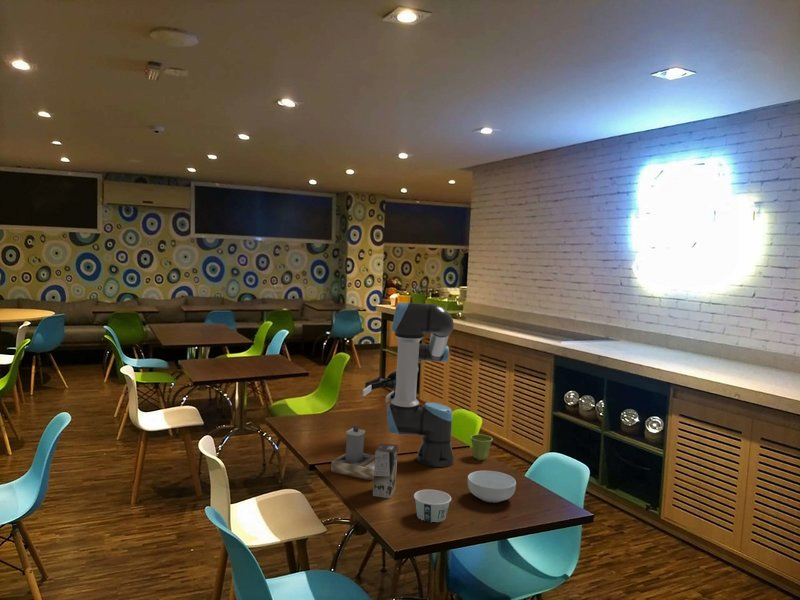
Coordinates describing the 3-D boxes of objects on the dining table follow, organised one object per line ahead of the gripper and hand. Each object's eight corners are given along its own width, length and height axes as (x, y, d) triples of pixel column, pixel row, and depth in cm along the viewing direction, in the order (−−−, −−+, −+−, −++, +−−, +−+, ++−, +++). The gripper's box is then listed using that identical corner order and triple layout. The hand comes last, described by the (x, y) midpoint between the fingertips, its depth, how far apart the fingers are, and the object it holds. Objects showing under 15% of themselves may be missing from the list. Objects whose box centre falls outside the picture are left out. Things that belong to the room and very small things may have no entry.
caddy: (390, 468, 232) (391, 458, 232) (374, 480, 218) (374, 470, 218) (349, 460, 239) (349, 450, 239) (331, 471, 225) (331, 461, 225)
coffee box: (390, 498, 202) (393, 452, 201) (372, 496, 204) (374, 450, 203) (396, 489, 211) (398, 444, 210) (378, 487, 213) (381, 442, 212)
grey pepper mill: (363, 465, 231) (365, 425, 231) (356, 469, 226) (359, 428, 226) (350, 463, 233) (352, 423, 233) (344, 467, 228) (346, 426, 228)
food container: (420, 506, 198) (421, 486, 198) (454, 513, 193) (456, 493, 193) (406, 519, 187) (408, 499, 187) (443, 527, 182) (444, 506, 182)
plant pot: (492, 462, 248) (494, 441, 247) (470, 460, 248) (471, 440, 248) (489, 454, 257) (491, 435, 257) (468, 453, 257) (469, 433, 257)
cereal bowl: (458, 491, 213) (459, 472, 213) (498, 487, 219) (499, 468, 219) (481, 510, 197) (483, 489, 197) (524, 505, 203) (525, 485, 203)
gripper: (420, 392, 264) (398, 411, 245) (375, 380, 273) (350, 398, 254) (421, 376, 262) (399, 394, 243) (376, 365, 271) (351, 381, 252)
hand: (374, 396), depth 248 cm, fingers open, 10 cm apart
